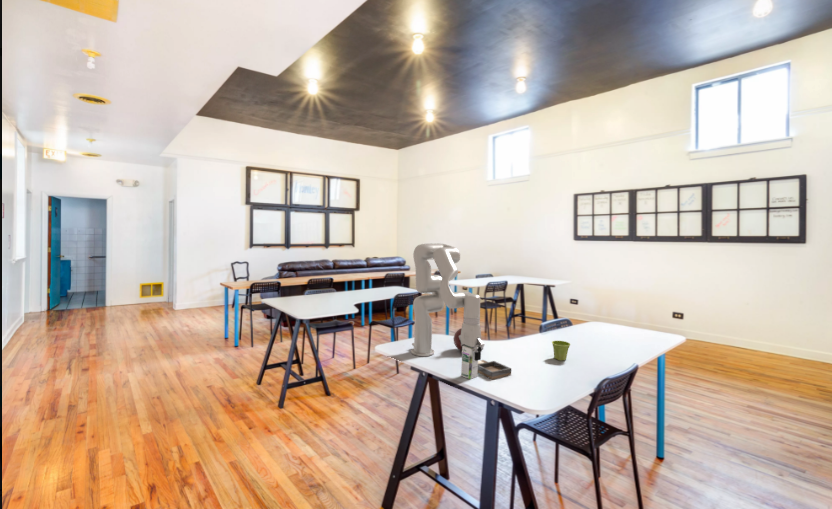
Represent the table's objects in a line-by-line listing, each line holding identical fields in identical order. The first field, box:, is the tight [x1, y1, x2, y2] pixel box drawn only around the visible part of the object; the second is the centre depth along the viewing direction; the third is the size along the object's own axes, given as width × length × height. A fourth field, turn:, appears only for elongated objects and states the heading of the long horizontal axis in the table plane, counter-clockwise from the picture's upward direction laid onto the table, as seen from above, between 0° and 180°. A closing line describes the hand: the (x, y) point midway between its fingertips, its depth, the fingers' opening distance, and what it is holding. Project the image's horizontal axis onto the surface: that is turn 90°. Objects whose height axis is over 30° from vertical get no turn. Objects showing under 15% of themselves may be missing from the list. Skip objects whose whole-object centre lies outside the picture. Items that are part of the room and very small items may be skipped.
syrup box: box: [460, 345, 479, 380], centre depth 199 cm, size 6×6×14 cm
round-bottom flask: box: [453, 327, 462, 351], centre depth 236 cm, size 13×13×20 cm
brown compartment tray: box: [477, 359, 512, 380], centre depth 208 cm, size 20×12×3 cm, turn 32°
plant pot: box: [551, 340, 571, 361], centre depth 228 cm, size 9×9×9 cm
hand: (470, 357), depth 198 cm, fingers open, 9 cm apart
